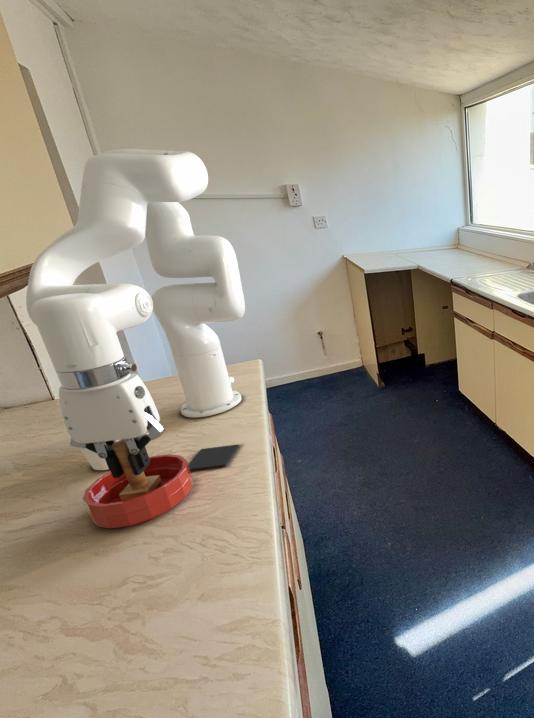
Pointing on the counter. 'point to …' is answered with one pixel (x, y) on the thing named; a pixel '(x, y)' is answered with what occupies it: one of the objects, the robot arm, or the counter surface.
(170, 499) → the bowl
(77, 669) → the counter surface
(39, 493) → the counter surface
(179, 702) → the counter surface
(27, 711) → the counter surface
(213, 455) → the mat
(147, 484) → the wooden stamp
